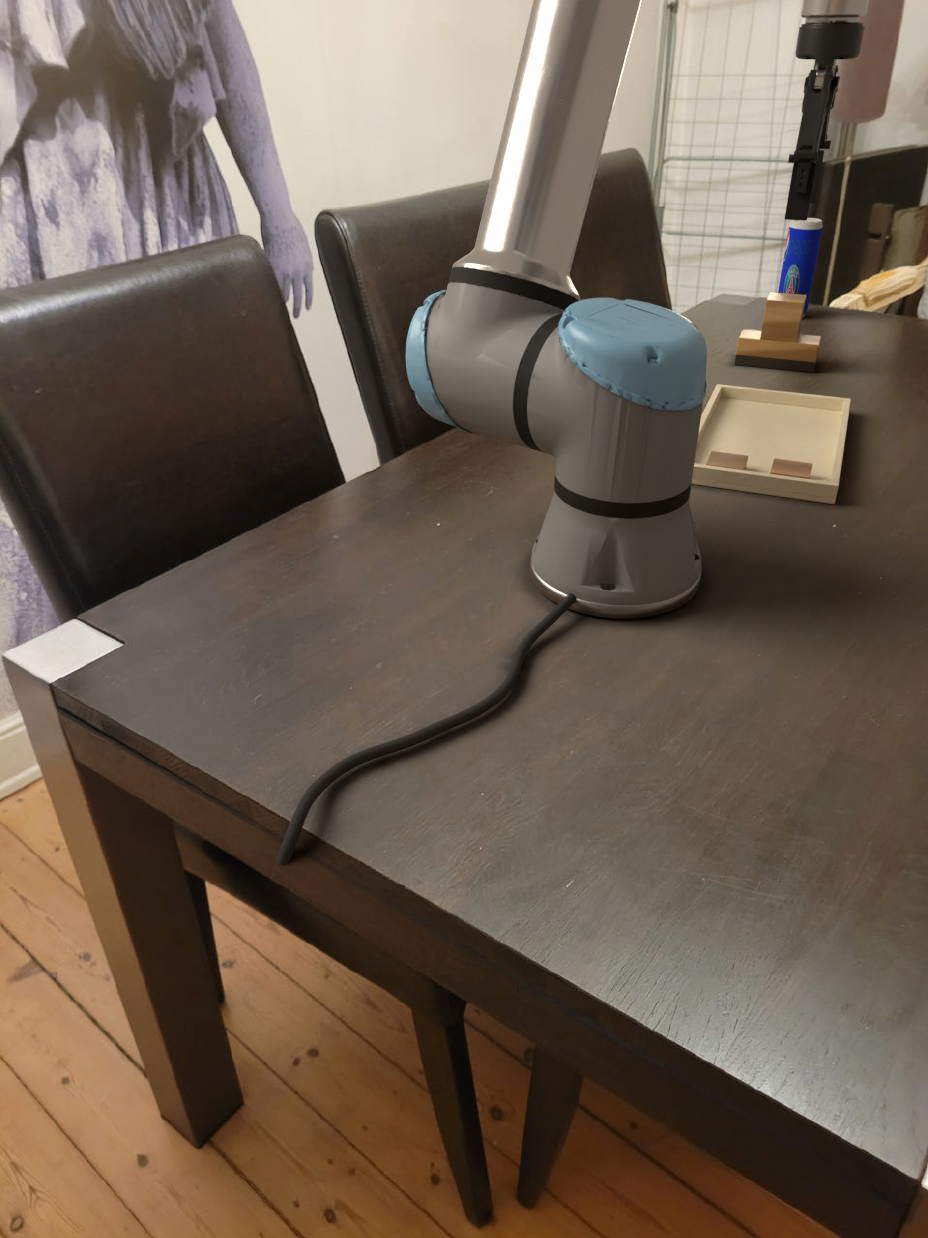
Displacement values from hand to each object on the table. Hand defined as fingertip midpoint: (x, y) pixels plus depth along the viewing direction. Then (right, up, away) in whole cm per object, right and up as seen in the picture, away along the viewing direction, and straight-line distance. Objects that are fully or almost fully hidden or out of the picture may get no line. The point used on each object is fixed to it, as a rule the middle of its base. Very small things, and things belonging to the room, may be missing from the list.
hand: (800, 210), depth 123 cm
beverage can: (+10, -3, +33) cm, 35 cm away
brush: (0, -17, +11) cm, 21 cm away
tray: (-9, -34, -14) cm, 38 cm away
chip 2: (-10, -40, -24) cm, 47 cm away
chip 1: (-16, -38, -22) cm, 47 cm away
